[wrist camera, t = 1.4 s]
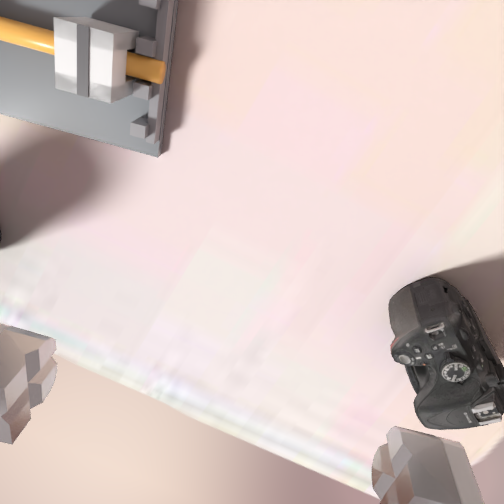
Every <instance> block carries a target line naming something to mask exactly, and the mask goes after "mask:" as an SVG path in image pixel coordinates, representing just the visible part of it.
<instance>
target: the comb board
mask: <svg viewBox="0 0 504 504" xmlns="http://www.w3.org/2000/svg"><path fill="white" fill-rule="evenodd" d="M177 9H178V0H0V114H2V115H6V116H9V117H13V118H17V119H20V120H24V121H28V122H31V123H35V124H38V125H42V126H46V127H49V128H53V129H57V130H60V131H64V132H68V133H71V134H75V135H78V136H82V137H86V138H89V139H93V140H97V141H100V142H104V143H107V144H111V145H115V146H118V147H122V148H126V149H129V150H133V151H136V152H140V153H144V154H147V155H151V156H155V157H159V156H160V155H161V150H162V141H163V132H164V123H165V114H166V106H167V97H168V88H169V79H170V70H171V62H172V53H173V44H174V35H175V26H176V17H177ZM54 17H89V18H92V19H96V20H100V21H103V22H107V23H111V24H114V25H118V26H121V27H125V28H129V29H132V30H136V31H139V37H137V38H136V48H134V49H128V50H127V60H126V76H128V77H132V78H135V79H136V81H135V82H133V94H132V95H129V96H127V97H125V98H122V99H120V100H118V101H115V102H113V103H107V102H103V101H100V100H96V99H93V98H89V97H88V98H87V97H84V96H80V95H77V94H74V93H71V92H67V91H63V90H60V89H56V88H55V53H54Z"/></svg>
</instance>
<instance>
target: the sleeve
mask: <svg viewBox="0 0 504 504" xmlns="http://www.w3.org/2000/svg"><path fill="white" fill-rule="evenodd" d="M137 37H139V31H136V30H132V29H129V28H125V27H121V26H118V25H114V24H111V23H107V22H103V21H100V20H96V19H92V18H89V17H54V53H55V88H56V89H60V90H63V91H67V92H71V93H74V94H77V95H80V96H84V97H87V98H88V97H89V98H93V99H96V100H100V101H103V102H107V103H113V102H115V101H118V100H120V99H122V98H125V97H127V96H129V95H132V94H133V82H135V81H136V79H135V78H132V77H128V76H126V60H127V50H128V49H134V48H136V38H137Z"/></svg>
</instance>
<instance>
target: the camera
mask: <svg viewBox="0 0 504 504" xmlns="http://www.w3.org/2000/svg"><path fill="white" fill-rule="evenodd" d="M389 317H390V324H391V328H392V330H393V332H394V334H395V339H394V341H393V342H392V344H391V355H392V357H393V358H394V361H396V362H398V363H400V364H403V365H405V368H406V371H407V374H408V376H409V379H410V382H411V384H412V386H413V388H414V390H415V392H416V394H417V396H416V397H415V400H414V407H415V413H416V415H417V417H418V418H419V420H420V421H421V423H422V424H423V425H424V426H425V427H426V428H430V429H439V430H443V429H464V428H471V427H477V426H483V425H488V424H491V423H496V422H500V421H501V420H502V415H503V413H504V367H503V365H502V363H501V361H500V359H498V357H497V355H496V353H495V351H494V349H493V347H492V345H491V343H490V341H489V339H488V337H487V335H486V333H485V331H484V329H483V327H482V325H481V323H480V321H479V319H478V317H477V315H476V313H475V312H474V310H473V308H472V306H471V305H470V303H469V302H468V300H466V299H465V297H462V295H461V294H460V293H459V291H458V290H457V289H456V288H455V287H453V286H451V285H450V284H449V283H448V282H446V281H445V280H442V279H439V278H425V279H422V280H420V281H417V282H415V283H412V284H410V285H407V286H405V287H404V288H402V289H401V290H400V291H398V292H397V293H396V294H395V295H394V296H393V297H392V298H391V299H390V301H389Z"/></svg>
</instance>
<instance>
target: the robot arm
mask: <svg viewBox="0 0 504 504" xmlns="http://www.w3.org/2000/svg"><path fill="white" fill-rule="evenodd" d="M55 351H56V341H55V339H53V338H51V337H48V336H44V335H41V334H37V333H34V332H30V331H27V330H23V329H20V328H16V327H13V326H9V325H5V324H1V323H0V442H4V443H8V444H13V443H14V441H15V440H16V438H17V437H18V436H19V434H20V433H21V432H22V430H23V429H24V427H25V426H26V425H27V423H28V422H29V421H30V419H31V414H30V409H31V408H33V407H35V406H36V405H38V404H40V403H42V402H43V401H44V400H45V398H46V397H47V395H48V394H49V392H50V390H51V388H52V386H53V384H54V381H55V378H56V373H57V363H56V361H55V360H54V359H53V358H52V354H53V353H54V352H55ZM386 436H387V442H388V443H387V444H385V445H382V446H380V447H379V448H378V450H377V452H376V454H375V455H374V459H373V464H372V485H373V489H374V491H375V492H376V494H377V495H378V497H379V498H380V500H381V501H380V502H379V504H485V503H484V501H483V498H482V495H481V493H480V490H479V487H478V484H477V482H476V479H475V476H474V474H473V471H472V468H471V465H470V463H469V460H468V457H467V455H466V452H465V449H464V447H463V446H462V445H461V443H460V442H456V441H452V440H448V439H444V438H441V437H436V436H434V435H430V434H426V433H422V432H418V431H414V430H409V429H405V428H401V427H397V426H394V427H393V428H391V429H390V430H389V432H388V434H387V435H386Z"/></svg>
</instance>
